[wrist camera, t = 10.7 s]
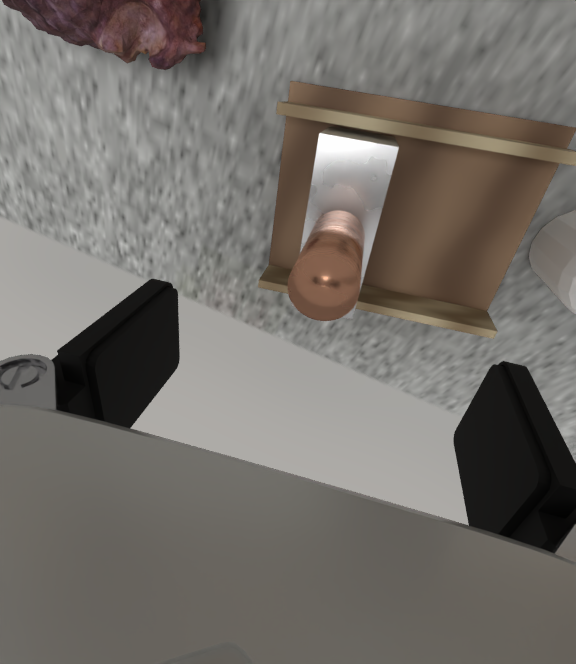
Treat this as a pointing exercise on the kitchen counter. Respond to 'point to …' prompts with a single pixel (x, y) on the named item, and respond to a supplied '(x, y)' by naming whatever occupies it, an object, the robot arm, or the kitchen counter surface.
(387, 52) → the kitchen counter surface
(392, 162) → the ram
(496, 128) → the base
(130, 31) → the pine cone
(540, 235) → the capsule
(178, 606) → the robot arm
